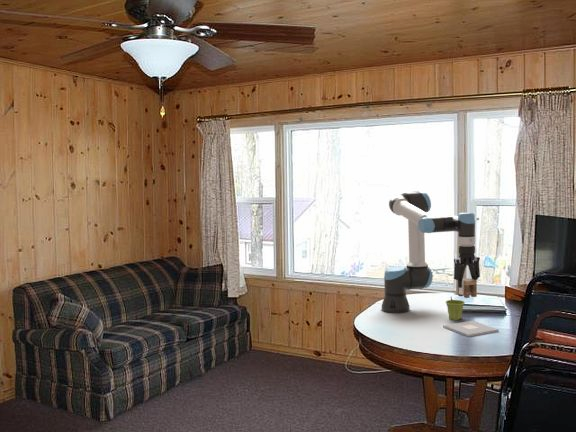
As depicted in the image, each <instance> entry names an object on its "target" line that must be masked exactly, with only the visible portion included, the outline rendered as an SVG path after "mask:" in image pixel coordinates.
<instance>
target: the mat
mask: <svg viewBox="0 0 576 432" xmlns="http://www.w3.org/2000/svg"><path fill="white" fill-rule="evenodd" d="M442 328H444V329H447V330H449V331H452V332H455V333H457V334H460V335H463V336H465V337H469V338H470V337H476V336H481V335H487V334H492V333H497V332H499V328H496V327H492V326H490V325H486V324H483V323H481V322H478V321H475V320H468V321H467V320H466V321H462V322H461V321H460V322H454V323H449V324H443V325H442ZM475 335H476V336H475Z"/></svg>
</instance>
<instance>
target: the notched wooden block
mask: <svg viewBox="0 0 576 432" xmlns="http://www.w3.org/2000/svg"><path fill="white" fill-rule="evenodd" d="M477 280H478V279H477ZM477 280H474V279H472V278H470V277H466V278H465V277H464V278H463V280H462V281H464V295H461V294H459V287H458V286H457V296H458V297H463V298H465V299H470V297H471V298H477V295H478V293H477V292H478V291H477V285H478V284H477V283H478V282H477Z"/></svg>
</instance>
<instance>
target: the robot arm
mask: <svg viewBox="0 0 576 432" xmlns="http://www.w3.org/2000/svg"><path fill="white" fill-rule="evenodd" d="M388 207H389V209H390V212H392V213H393V214H395V215H396V216H402V217H403V218H404V219H407V224H408V229H407V231H408V263H406V267H405V266H402V265H401V266H399V265H398V266H391V267H388V268H386V269H385V271H384V275H383V276H384V277H383V279H384V281H383V282H384V283H383V284H384V297H383V300H382V304H381V310H382V311H383V312H386V313H392V314H402V313H407V312H409V311H410V304H409V301H408V297H407V291H410V290H412V291H413V290H423V289H426V288H429V287H430V286H431V284H432V282H433V279H434V278H433V276H434V275H433V271H432V269H431V268H430V267H429V264H428V263H427V262H426V249H425V248H426V246H425V245H426V244H425V243H426V242H425V234H432V233H435V234H436V233H443V232H444V233H448V232H457V233H458V241H457V243H458V254H459V256H458V258H454V259H453V262H454V263H453V264H454V271H453V272H454V273H453V279H454V280H455V281H457V288H458V287H459V294H461V295H464V281H462V280H463V279H464V275H465V271H466V268H467V267H468V270H469V274H470V277H471V278H470V279H474V280H478V279H479V278H480V277H481V274H480V260H481V259H480V257H479V256H475V253H476V246H475V244H476V218H475V217H476V215H475V213H473V212H459V213H458V214H457V215H445V216H433V215H430V214H429V213H428V212H430V210H431V207H432V202H431V199H430V196H429V194H428V193H427V192H425V191H419V190H418V191H399V192H396V193H394V194H393V195H392V196H391V197H390V199H389V201H388Z"/></svg>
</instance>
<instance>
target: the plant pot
mask: <svg viewBox="0 0 576 432" xmlns="http://www.w3.org/2000/svg"><path fill="white" fill-rule="evenodd" d="M465 303H466V302H465V301H463V300H461V299H449V300H446V301H445V304H446V306H447V313H448V319H450V320H453V321H454V320H455V321H459V320H461V319H462V316H463V309H464V306H465Z"/></svg>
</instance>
